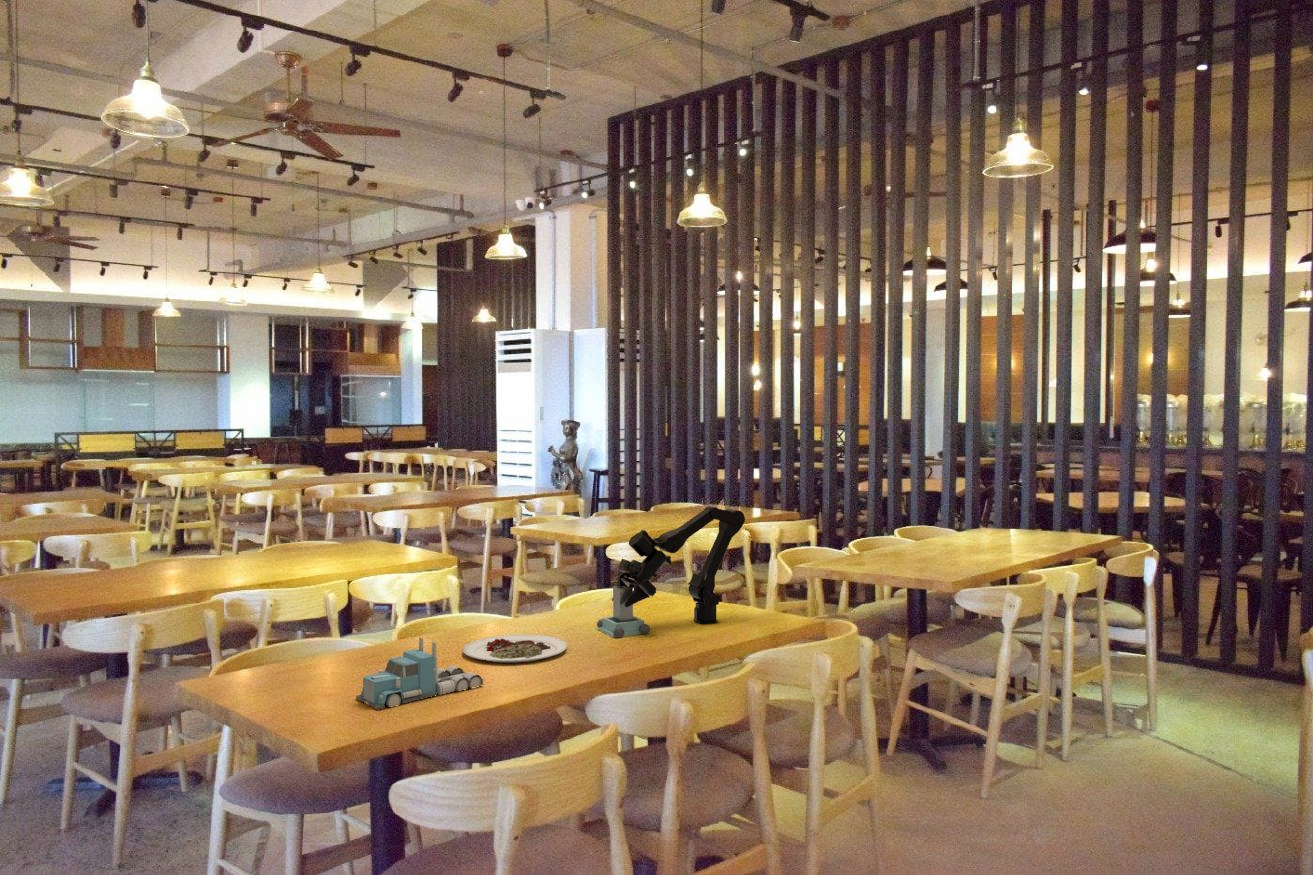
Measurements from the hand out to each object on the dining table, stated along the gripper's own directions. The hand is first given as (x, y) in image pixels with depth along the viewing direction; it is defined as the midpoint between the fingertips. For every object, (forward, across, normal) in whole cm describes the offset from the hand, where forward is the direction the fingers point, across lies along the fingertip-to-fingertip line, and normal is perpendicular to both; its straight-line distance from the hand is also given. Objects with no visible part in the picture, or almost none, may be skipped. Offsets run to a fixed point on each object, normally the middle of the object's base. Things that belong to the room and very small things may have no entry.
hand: (619, 603), depth 302 cm
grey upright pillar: (+5, 0, +7) cm, 8 cm away
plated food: (+33, +8, -20) cm, 39 cm away
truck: (+57, +35, -44) cm, 80 cm away
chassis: (+5, 0, +7) cm, 9 cm away
